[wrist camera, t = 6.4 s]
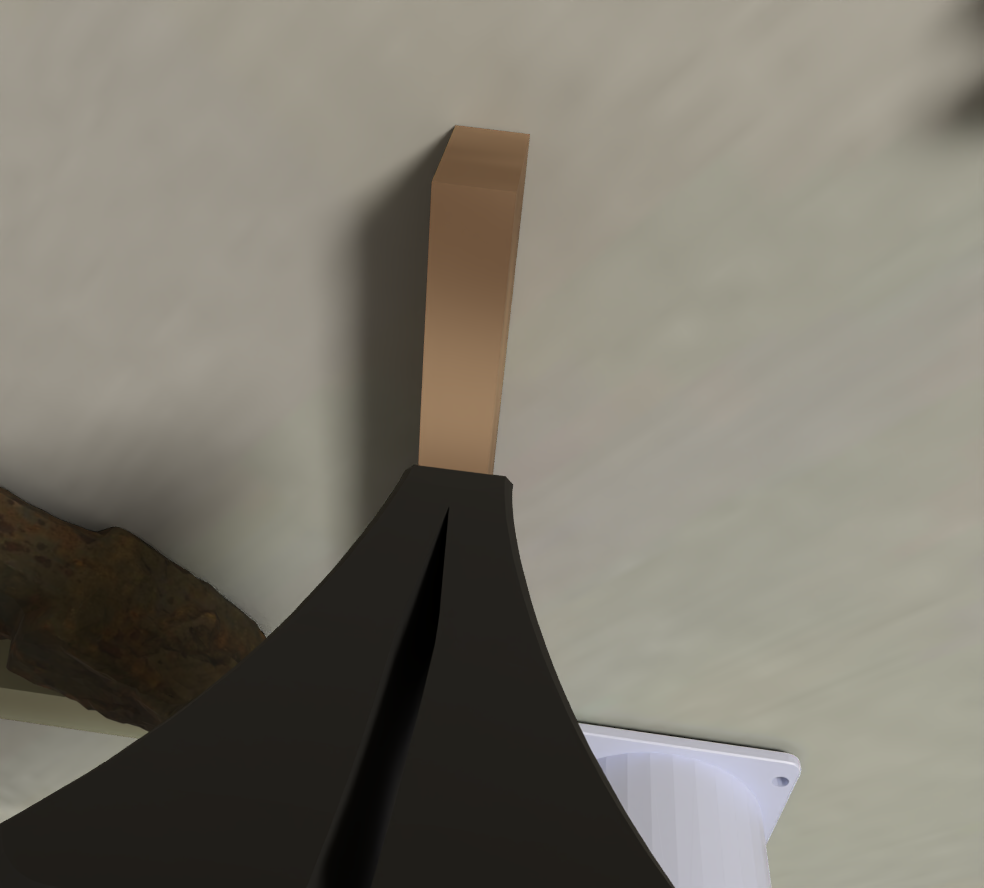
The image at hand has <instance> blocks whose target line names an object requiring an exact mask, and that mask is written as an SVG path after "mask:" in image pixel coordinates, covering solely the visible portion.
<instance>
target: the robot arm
mask: <svg viewBox="0 0 984 888" xmlns="http://www.w3.org/2000/svg"><path fill="white" fill-rule="evenodd" d="M512 489H513V484H512V483H511V482H510V481H509V480H508V478H507V477H506V476H499V475H491V474H483V473H475V472H467V471H459V470H452V469H444V468H436V467H428V466H420V465H413V466H412V467H410V468H408V469H407V470H405V472H404V474H403V476H402V477H401V479H400V481H399V482H398V484H397V486H396V487H395V489H394V490H393V492H392V493H391V495H390V496H389V498H388V499H387V501H386V502H385V504H384V505H383V506H382V508H381V509H380V511H379V512H378V513H377V515H376V516H375V517H374V519H373V520H372V521H371V523H370V524H369V525H368V527H367V528H366V529H365V531H364V532H363V533H362V534H361V536H360V537H359V538H358V539H357V541H356V542H355V543H354V544H353V545H352V547H351V548H350V549H349V550H348V552H347V553H346V554H345V555H344V556H343V558H342V559H341V560H340V561H339V563H338V564H337V565H336V566H335V567H334V568H333V570H332V571H331V572H330V573H329V574H328V575H327V576H326V577H325V578H324V580H323V581H322V582H321V583H320V584H319V585H318V586H317V587H316V588H315V589H314V590H313V591H312V592H311V593H310V595H309V596H308V597H307V598H306V599H305V600H304V601H303V602H302V603H301V604H300V605H299V606H298V607H297V609H296V610H295V611H294V612H293V613H292V614H291V615H290V616H289V617H288V618H287V619H286V620H285V621H284V622H283V623H282V624H281V625H280V626H279V627H277V628H276V629H275V630H274V631H273V632H272V633H271V634H270V635H269V636H268V637H267V638H266V639H265V640H264V641H263V642H262V643H260V644H259V645H258V646H257V647H256V648H255V649H254V650H253V651H252V652H250V653H249V654H248V655H247V656H246V657H245V658H244V659H243V660H242V661H240V662H239V663H238V664H237V665H236V666H234V667H233V668H232V669H231V670H230V671H228V672H227V673H226V674H225V675H223V676H222V677H221V678H220V679H219V680H217V681H216V682H215V683H214V684H212V685H211V686H210V687H209V688H208V689H206V690H205V691H204V692H203V693H201V694H200V695H199V696H198V697H196V698H195V699H194V700H193V701H191V702H190V703H189V704H187V705H186V706H185V707H183V708H182V709H181V710H179V711H178V712H177V713H175V714H174V715H173V716H171V717H170V718H168V719H167V720H166V721H164V722H163V723H161V724H160V725H158V726H157V727H155V728H154V729H152V730H151V731H150V732H148V733H147V734H145V735H144V736H142V737H141V738H139V739H138V740H136V741H135V742H134V743H132V744H131V745H129V746H128V747H126V748H125V749H123V750H122V751H120V752H119V753H118V754H116V755H115V756H113V757H112V758H110V759H109V760H107V761H106V762H104V763H103V764H101V765H99V766H98V767H96V768H95V769H93V770H91V771H90V772H88V773H87V774H85V775H83V776H82V777H80V778H78V779H76V780H75V781H73V782H71V783H70V784H68V785H66V786H64V787H63V788H61V789H59V790H58V791H56V792H54V793H53V794H51V795H49V796H47V797H46V798H44V799H42V800H41V801H39V802H37V803H35V804H34V805H32V806H30V807H29V808H27V809H25V810H24V811H22V812H20V813H18V814H17V815H15V816H13V817H11V818H9V819H8V820H6V821H4V822H2V823H0V888H772V887H771V880H770V872H769V864H768V857H767V849H766V844H767V842H768V840H769V838H770V836H771V834H772V832H773V830H774V828H775V826H776V823H777V821H778V819H779V817H780V815H781V813H782V811H783V809H784V807H785V805H786V803H787V801H788V799H789V797H790V795H791V792H792V790H793V788H794V786H795V784H796V782H797V780H798V778H799V776H800V774H801V765H800V761H799V759H798V757H796V756H794V755H793V754H790V753H785V752H778V751H771V750H764V749H757V748H750V747H743V746H736V745H729V744H722V743H715V742H708V741H701V740H694V739H687V738H681V737H674V736H667V735H660V734H653V733H646V732H639V731H632V730H625V729H618V728H611V727H604V726H597V725H590V724H583V723H578V722H577V719H576V717H575V715H574V713H573V711H572V709H571V707H570V704H569V702H568V700H567V697H566V695H565V693H564V691H563V688H562V686H561V684H560V681H559V679H558V676H557V674H556V671H555V669H554V666H553V664H552V661H551V658H550V656H549V653H548V650H547V648H546V645H545V642H544V639H543V636H542V633H541V630H540V627H539V625H538V622H537V618H536V615H535V612H534V609H533V605H532V602H531V598H530V595H529V591H528V587H527V583H526V580H525V576H524V572H523V568H522V564H521V560H520V555H519V550H518V545H517V539H516V533H515V527H514V519H513V509H512Z"/></svg>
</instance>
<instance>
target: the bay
mask: <svg viewBox="0 0 984 888" xmlns="http://www.w3.org/2000/svg"><path fill="white" fill-rule="evenodd" d="M529 138H530V134H523V133H514V132H506V131H498V130H490V129H481V128H473V127H465V126H457V125H455V128H454V130H453V132H452V135H451V137H450V139H449V142H448V144H447V147H446V149H445V151H444V154H443V156H442V158H441V161H440V163H439V165H438V168H437V170H436V172H435V175H434V177H433V180H432V184H431V205H430V227H429V248H428V269H427V291H426V312H425V333H424V355H423V376H422V397H421V418H420V440H419V461H418V465H420V466H428V467H436V468H444V469H452V470H459V471H467V472H475V473H483V474H491V475H493V468H494V459H495V450H496V440H497V431H498V422H499V413H500V404H501V395H502V385H503V376H504V367H505V358H506V349H507V339H508V330H509V321H510V312H511V303H512V294H513V284H514V275H515V266H516V257H517V248H518V239H519V229H520V220H521V211H522V202H523V193H524V184H525V174H526V165H527V156H528V147H529ZM10 644H11V640H9V639H4V640H0V718H2V719H8V720H15V721H22V722H29V723H36V724H43V725H49V726H56V727H63V728H70V729H77V730H84V731H90V732H97V733H104V734H111V735H118V736H124V737H131V738H138V739H139V738H141V737H142V736H144V735H145V734H147V733H148V731H146V730H144V729H142V728H140V727H137V726H134V725H130V724H122V723H119V722H116V721H113V720H110V719H107V718H105V717H104V716H103V715H101V714H100V713H99V712H97V711H96V710H87V709H86V708H84V707H83V706H82V705H81V704H80V703H78V702H77V701H74V700H71V699H69V698H67V697H65V696H64V695H62V694H60V693H59V692H56V691H53V690H50V689H47V688H44V687H41V686H38V685H35V684H33V683H31V682H29V681H28V680H26V679H24V678H23V677H21V676H19V675H17V674H14V673H12V672H10V671H9V670H8V669H7V668H6V665H7V660H8V655H9V649H10Z"/></svg>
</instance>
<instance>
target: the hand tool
mask: <svg viewBox="0 0 984 888" xmlns="http://www.w3.org/2000/svg"><path fill="white" fill-rule="evenodd" d="M264 634H265V633H263V632H262V631H260V629H259V627H258V626H257V624H256V622H254V621H253V620H251V619H250V618H249V617H248V616H247V615H246V614H244V613H243V612H242V611H241V610H240V609H238V608H237V607H236V606H235V605H234V604H232V603H231V602H229V601H228V600H227V599H225V598H224V597H223V596H222V595H221V594H220V593H219V592H217V591H216V590H215V589H214V588H213V587H212V586H211V585H210V584H209V583H207V582H204V581H202V580H200V579H198V578H195V577H194V576H193V575H192V574H191V573H190V572H188V571H187V570H185V569H184V568H182V567H180V566H178V565H177V564H175V563H173V562H172V561H170V560H168V559H167V558H166V557H164V556H163V555H162V554H160V553H159V552H157V551H156V550H155V549H153V548H152V547H150V546H149V545H148V544H146V543H145V542H143V541H142V540H141V539H139V538H138V537H136V536H135V535H133V534H132V533H130V532H128V531H126V530H124V529H122V528H119V527H111V528H108V529H105V530H103V531H99V532H94V531H90V530H87V529H84V528H82V527H79V526H76V525H74V524H71V523H68V522H65V521H62V520H60V519H58V518H56V517H54V516H52V515H50V514H48V513H47V512H45V511H43V510H41V509H39V508H36V507H34V506H32V505H30V504H28V503H26V502H25V501H23V500H21V499H20V498H18V497H17V496H15V495H14V494H12V493H11V492H9V491H7V490H5V489H3V488H1V487H0V640H4V639H9V640H11V644H10V649H9V655H8V660H7V665H6V668H7V669H8V670H9V671H10V672H12V673H14V674H17V675H19V676H21V677H23V678H24V679H26V680H28V681H29V682H31V683H33V684H35V685H38V686H41V687H44V688H47V689H50V690H53V691H56V692H59V693H60V694H62V695H64V696H65V697H67V698H69V699H71V700H74V701H77V702H78V703H80V704H81V705H82V706H83V707H84V708H86V709H87V710H96V711H97V712H99V713H100V714H101V715H103V716H104V717H105V718H107V719H110V720H113V721H116V722H119V723H122V724H130V725H134V726H137V727H140V728H142V729H144V730H146V731H148V732H150V731H151V730H152V729H154V728H155V727H157V726H158V725H160V724H161V723H163V722H164V721H166V720H167V719H168V718H170V717H171V716H173V715H174V714H175V713H177V712H178V711H179V710H181V709H182V708H183V707H185V706H186V705H187V704H189V703H190V702H191V701H193V700H194V699H195V698H196V697H198V696H199V695H200V694H201V693H203V692H204V691H205V690H206V689H208V688H209V687H210V686H211V685H212V684H214V683H215V682H216V681H217V680H219V679H220V678H221V677H222V676H223V675H225V674H226V673H227V672H228V671H230V670H231V669H232V668H233V667H234V666H236V665H237V664H238V663H239V662H240V661H242V660H243V659H244V658H245V657H246V656H247V655H248V654H249V653H250V652H252V651H253V650H254V649H255V648H256V647H257V646H258V645H259V644H260V643H262V642H263V641H264V640H265V639H266V637H265V635H264Z"/></svg>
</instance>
